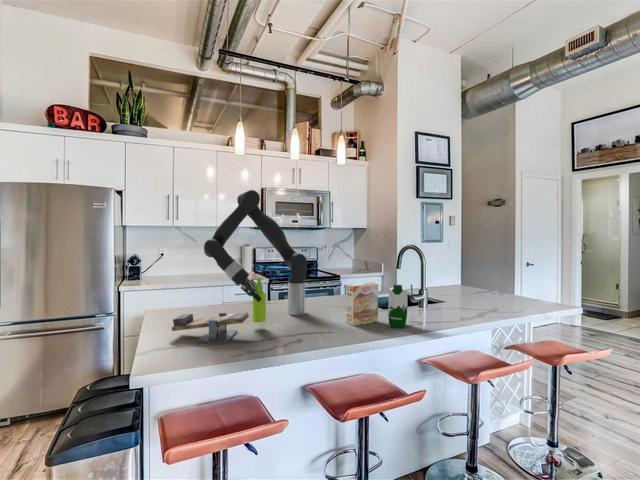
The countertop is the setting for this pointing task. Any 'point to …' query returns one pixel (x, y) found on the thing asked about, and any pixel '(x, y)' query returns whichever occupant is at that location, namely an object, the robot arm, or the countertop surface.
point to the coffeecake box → (361, 303)
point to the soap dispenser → (259, 303)
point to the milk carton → (397, 306)
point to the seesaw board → (206, 321)
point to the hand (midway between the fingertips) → (261, 298)
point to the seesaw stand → (217, 333)
